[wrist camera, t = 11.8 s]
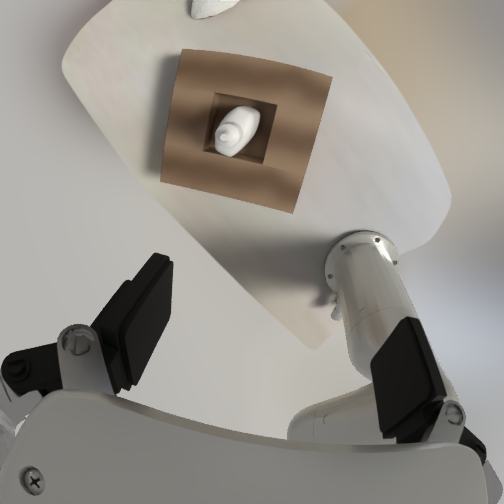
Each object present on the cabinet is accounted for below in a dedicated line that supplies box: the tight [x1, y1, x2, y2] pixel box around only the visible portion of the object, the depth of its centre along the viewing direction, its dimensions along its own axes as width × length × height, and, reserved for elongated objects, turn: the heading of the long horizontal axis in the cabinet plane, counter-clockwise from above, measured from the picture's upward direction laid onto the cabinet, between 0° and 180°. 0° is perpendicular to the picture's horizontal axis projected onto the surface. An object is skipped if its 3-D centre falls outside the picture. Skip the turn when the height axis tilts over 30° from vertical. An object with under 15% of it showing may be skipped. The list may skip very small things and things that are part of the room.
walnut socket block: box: [160, 49, 333, 214], centre depth 32 cm, size 18×18×4 cm
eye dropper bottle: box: [215, 106, 261, 157], centre depth 28 cm, size 4×6×12 cm
